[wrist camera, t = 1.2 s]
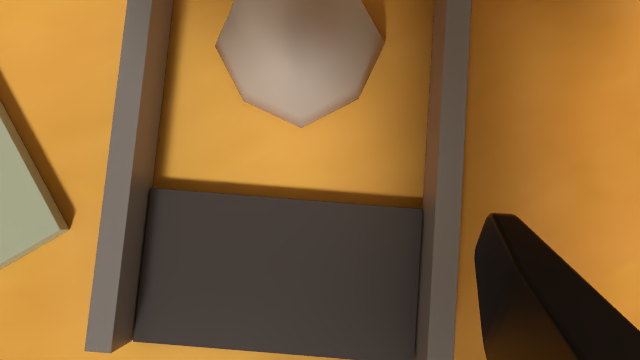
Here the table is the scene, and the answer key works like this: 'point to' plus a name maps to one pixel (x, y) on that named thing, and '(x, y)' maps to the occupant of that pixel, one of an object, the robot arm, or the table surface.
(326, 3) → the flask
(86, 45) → the table surface
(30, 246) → the pad
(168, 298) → the trough
